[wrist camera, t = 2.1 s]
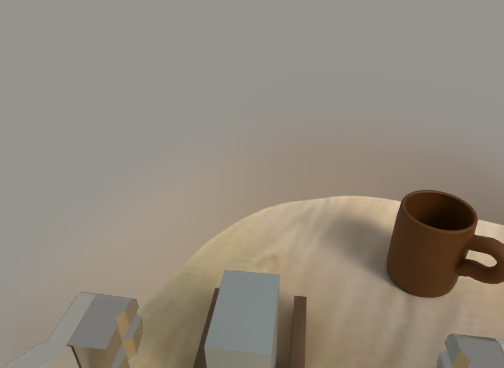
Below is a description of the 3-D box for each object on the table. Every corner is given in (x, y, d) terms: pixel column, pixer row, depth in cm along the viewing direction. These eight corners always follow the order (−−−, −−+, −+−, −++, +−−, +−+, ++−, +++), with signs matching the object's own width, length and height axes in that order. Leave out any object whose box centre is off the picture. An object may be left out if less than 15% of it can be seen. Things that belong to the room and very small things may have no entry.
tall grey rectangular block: (276, 358, 37) (279, 274, 31) (269, 438, 32) (271, 354, 26) (230, 353, 38) (224, 270, 32) (215, 430, 32) (204, 346, 26)
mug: (508, 303, 42) (542, 236, 37) (469, 341, 39) (501, 272, 33) (410, 243, 50) (427, 181, 45) (371, 270, 47) (384, 205, 42)
